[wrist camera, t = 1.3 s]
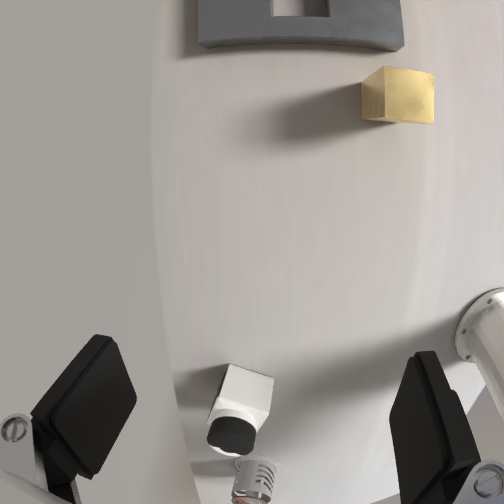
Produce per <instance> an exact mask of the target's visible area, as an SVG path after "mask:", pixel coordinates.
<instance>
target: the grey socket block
mask: <svg viewBox="0 0 504 504" xmlns="http://www.w3.org/2000/svg"><path fill="white" fill-rule="evenodd" d="M326 2H327V16H328V17H311V16H274V15H273V0H198V43H200V44H201V45H203V46H204V47H206V48H212V47H222V46H234V45H249V44H275V43H303V44H329V45H344V46H356V47H365V48H374V49H382V50H389V51H395V52H396V51H398V50H399V49H401V48H402V47H403V46H404V34H403V23H402V14H401V6H400V0H326Z"/></svg>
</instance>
